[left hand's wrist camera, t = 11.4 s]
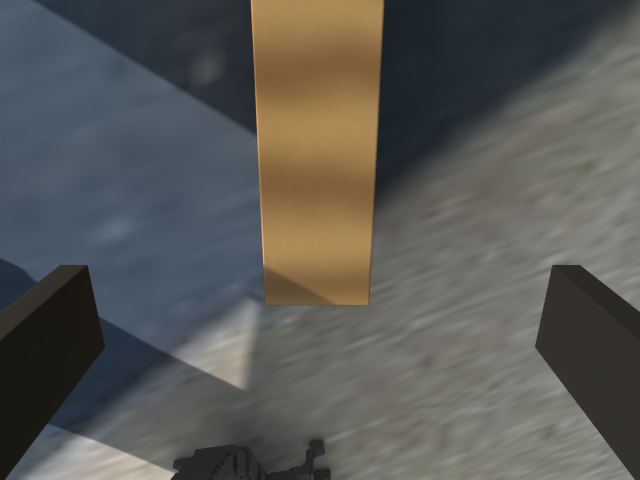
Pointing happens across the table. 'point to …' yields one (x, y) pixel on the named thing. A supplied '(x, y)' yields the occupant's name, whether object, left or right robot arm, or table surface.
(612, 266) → the table surface
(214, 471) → the toy
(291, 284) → the post
